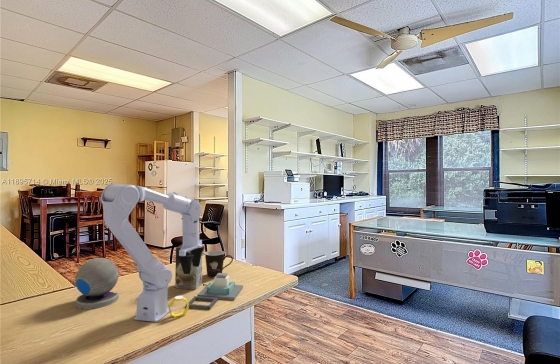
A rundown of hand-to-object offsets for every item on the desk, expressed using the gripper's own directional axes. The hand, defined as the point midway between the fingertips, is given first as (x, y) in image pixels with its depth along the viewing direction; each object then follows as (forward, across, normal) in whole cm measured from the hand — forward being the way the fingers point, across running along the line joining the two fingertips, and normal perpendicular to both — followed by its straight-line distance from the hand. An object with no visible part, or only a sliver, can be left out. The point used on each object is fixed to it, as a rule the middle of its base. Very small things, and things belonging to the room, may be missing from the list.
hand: (191, 269), depth 107 cm
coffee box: (+11, +11, +7) cm, 17 cm away
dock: (+11, +7, -8) cm, 15 cm away
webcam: (+10, -8, +32) cm, 34 cm away
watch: (+10, -13, -2) cm, 17 cm away
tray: (+10, -4, -6) cm, 12 cm away
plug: (+10, +7, -9) cm, 15 cm away
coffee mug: (+12, +25, 0) cm, 27 cm away
